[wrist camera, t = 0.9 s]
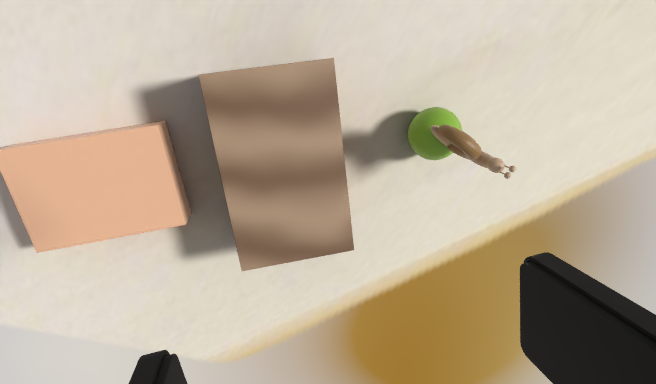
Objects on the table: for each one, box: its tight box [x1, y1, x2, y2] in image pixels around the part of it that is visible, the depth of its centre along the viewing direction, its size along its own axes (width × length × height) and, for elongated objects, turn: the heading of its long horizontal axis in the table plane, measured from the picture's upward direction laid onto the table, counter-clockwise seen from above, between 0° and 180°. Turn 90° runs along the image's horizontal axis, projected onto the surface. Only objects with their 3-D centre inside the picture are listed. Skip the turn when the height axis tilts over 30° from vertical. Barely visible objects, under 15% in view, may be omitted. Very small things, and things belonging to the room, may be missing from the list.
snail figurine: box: [408, 107, 516, 179], centre depth 37 cm, size 5×6×12 cm
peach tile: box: [0, 121, 191, 253], centre depth 37 cm, size 10×14×4 cm
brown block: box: [199, 58, 354, 271], centre depth 37 cm, size 18×11×7 cm, turn 6°
